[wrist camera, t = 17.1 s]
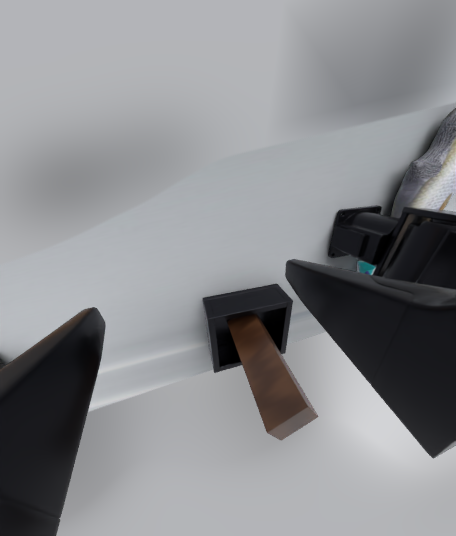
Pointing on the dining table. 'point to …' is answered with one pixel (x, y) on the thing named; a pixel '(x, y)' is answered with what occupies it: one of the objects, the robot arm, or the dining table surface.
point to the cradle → (238, 305)
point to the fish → (431, 173)
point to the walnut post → (270, 378)
